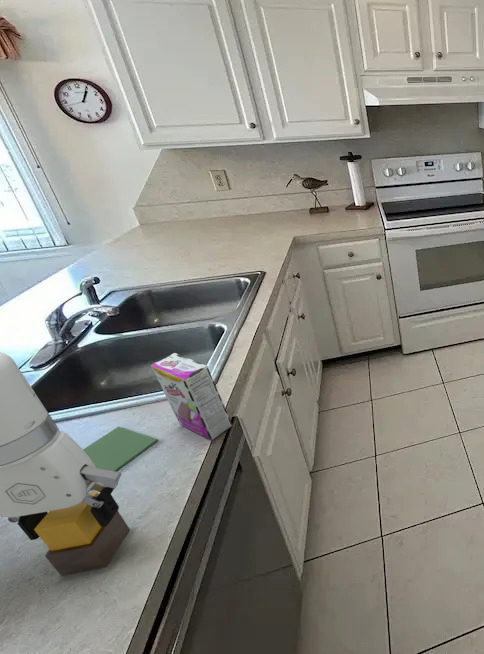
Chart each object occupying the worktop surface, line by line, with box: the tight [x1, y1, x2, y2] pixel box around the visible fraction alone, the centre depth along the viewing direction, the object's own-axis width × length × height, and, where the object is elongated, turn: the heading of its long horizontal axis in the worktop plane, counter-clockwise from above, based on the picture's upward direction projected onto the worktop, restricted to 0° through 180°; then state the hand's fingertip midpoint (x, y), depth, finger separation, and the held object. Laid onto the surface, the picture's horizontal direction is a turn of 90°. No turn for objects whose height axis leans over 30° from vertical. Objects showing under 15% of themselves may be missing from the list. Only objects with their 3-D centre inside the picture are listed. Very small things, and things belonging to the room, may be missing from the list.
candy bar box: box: [150, 352, 233, 441], centre depth 85 cm, size 11×5×16 cm, turn 65°
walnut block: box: [44, 510, 131, 577], centre depth 64 cm, size 6×6×5 cm
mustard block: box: [34, 491, 102, 551], centre depth 62 cm, size 5×5×5 cm
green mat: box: [82, 426, 159, 491], centre depth 82 cm, size 12×12×1 cm
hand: (77, 523), depth 62 cm, fingers open, 8 cm apart
